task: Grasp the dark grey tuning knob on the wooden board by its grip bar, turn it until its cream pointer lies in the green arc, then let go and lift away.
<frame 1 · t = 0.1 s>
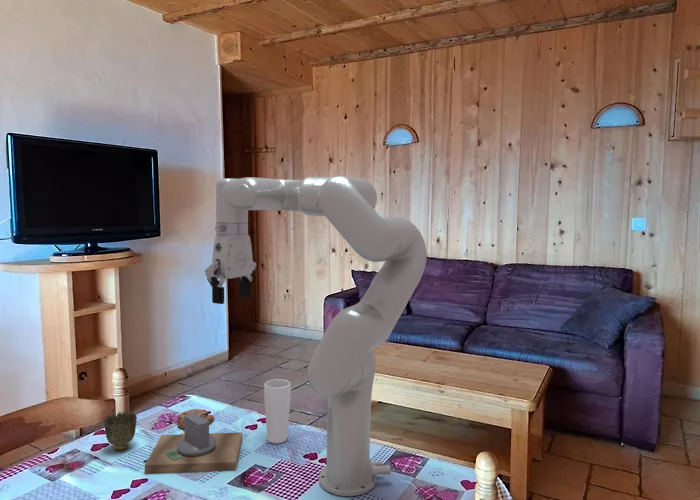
hand: (231, 300, 125), 37 cm above the table, tool pointing down, fingers open, 9 cm apart
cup: (121, 449, 125), on the table
cookie: (194, 424, 141), on the table
wooden board: (196, 455, 123), on the table
drinking glass: (277, 440, 132), on the table
tuning knob: (194, 431, 123), point 6 cm above the table, hinge at -50.0°
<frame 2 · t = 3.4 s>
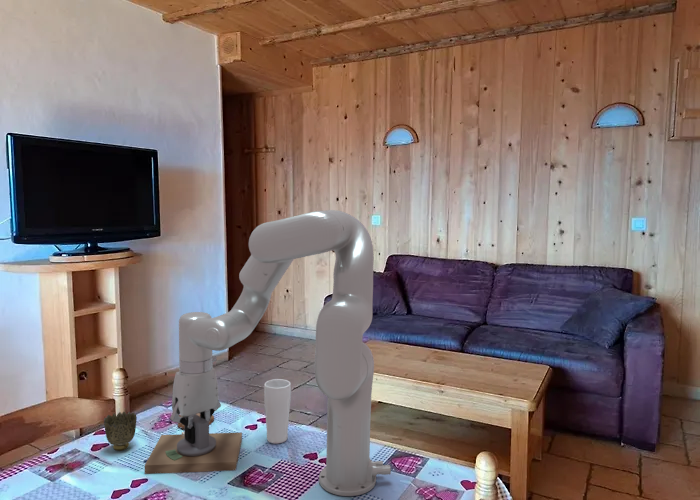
hand: (196, 439, 122), 4 cm above the table, tool pointing down, fingers closed on tuning knob, 2 cm apart
tuning knob: (194, 431, 123), point 6 cm above the table, hinge at -50.0°, touching gripper
everything else where it was.
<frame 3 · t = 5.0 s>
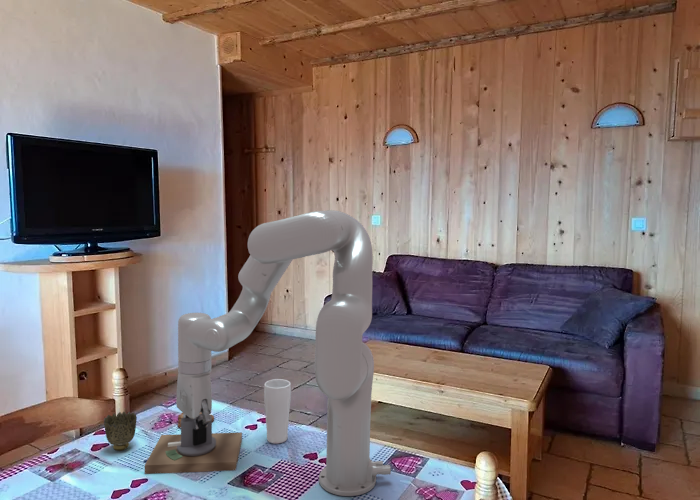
hand: (195, 439, 122), 4 cm above the table, tool pointing down, fingers closed on tuning knob, 4 cm apart
tuning knob: (192, 433, 122), point 6 cm above the table, hinge at 9.4°, touching gripper
everything else where it was.
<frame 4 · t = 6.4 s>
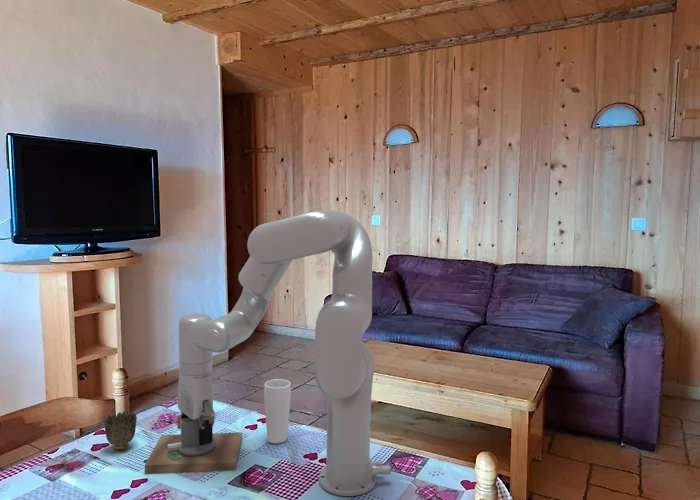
hand: (196, 436, 122), 5 cm above the table, tool pointing down, fingers open, 9 cm apart
tuning knob: (192, 433, 122), point 6 cm above the table, hinge at 16.7°
everything else where it was.
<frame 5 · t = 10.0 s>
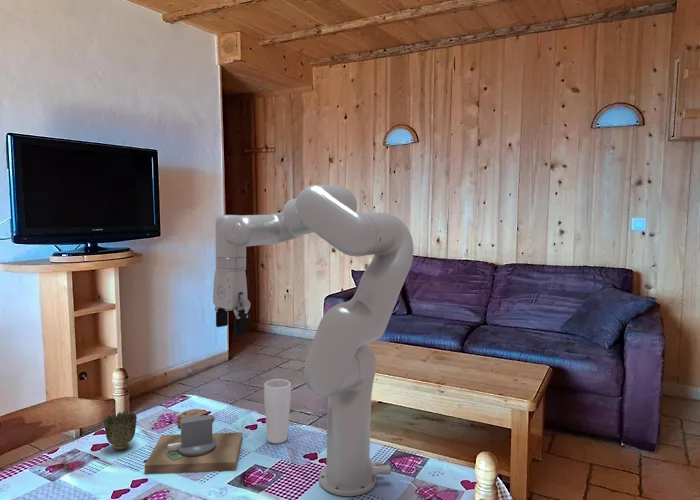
hand: (231, 329, 131), 28 cm above the table, tool pointing down, fingers open, 9 cm apart
tuning knob: (192, 433, 122), point 6 cm above the table, hinge at 17.1°
everything else where it was.
at the end: tuning knob at +17° (first picture: -50°); the gripper is holding nothing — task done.
